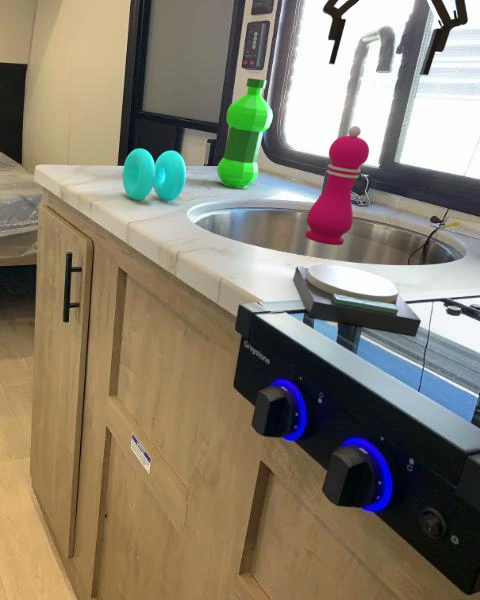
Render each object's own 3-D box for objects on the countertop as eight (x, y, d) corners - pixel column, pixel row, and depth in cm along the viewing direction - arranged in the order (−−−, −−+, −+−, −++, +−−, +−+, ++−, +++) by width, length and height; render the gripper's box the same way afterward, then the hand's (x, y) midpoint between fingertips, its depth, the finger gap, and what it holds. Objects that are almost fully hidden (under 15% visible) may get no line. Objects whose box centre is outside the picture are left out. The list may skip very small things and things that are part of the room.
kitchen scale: (382, 294, 82) (389, 274, 81) (415, 336, 69) (424, 312, 68) (293, 279, 83) (298, 259, 82) (308, 317, 71) (315, 293, 69)
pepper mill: (330, 253, 99) (367, 129, 91) (292, 240, 104) (324, 121, 96) (352, 249, 103) (388, 130, 96) (314, 237, 108) (346, 123, 101)
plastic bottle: (205, 180, 151) (226, 75, 142) (241, 182, 154) (264, 80, 145) (225, 189, 142) (249, 78, 133) (263, 191, 146) (289, 83, 136)
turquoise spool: (183, 206, 119) (193, 156, 115) (138, 205, 115) (147, 153, 111) (159, 194, 127) (167, 146, 123) (117, 193, 123) (124, 143, 120)
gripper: (332, -100, 86) (295, 58, 94) (528, -89, 80) (470, 79, 88) (329, -86, 93) (295, 60, 101) (510, -76, 86) (458, 80, 94)
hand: (376, 69), depth 94 cm, fingers open, 13 cm apart
